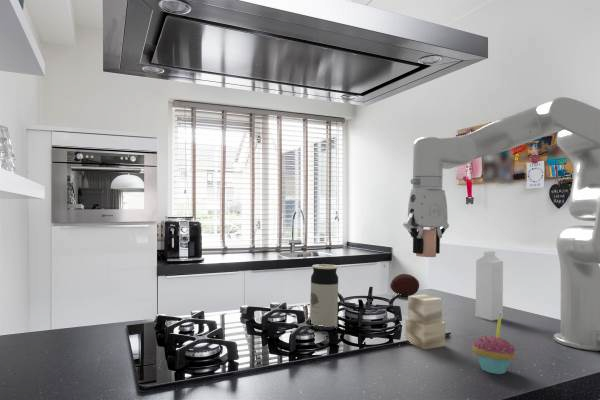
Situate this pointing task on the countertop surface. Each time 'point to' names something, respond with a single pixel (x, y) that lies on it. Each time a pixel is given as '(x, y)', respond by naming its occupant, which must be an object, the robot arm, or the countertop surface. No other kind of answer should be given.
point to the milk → (489, 287)
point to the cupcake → (494, 352)
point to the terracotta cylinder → (428, 243)
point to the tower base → (425, 334)
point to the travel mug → (324, 295)
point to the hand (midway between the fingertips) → (426, 252)
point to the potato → (405, 285)
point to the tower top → (425, 309)
